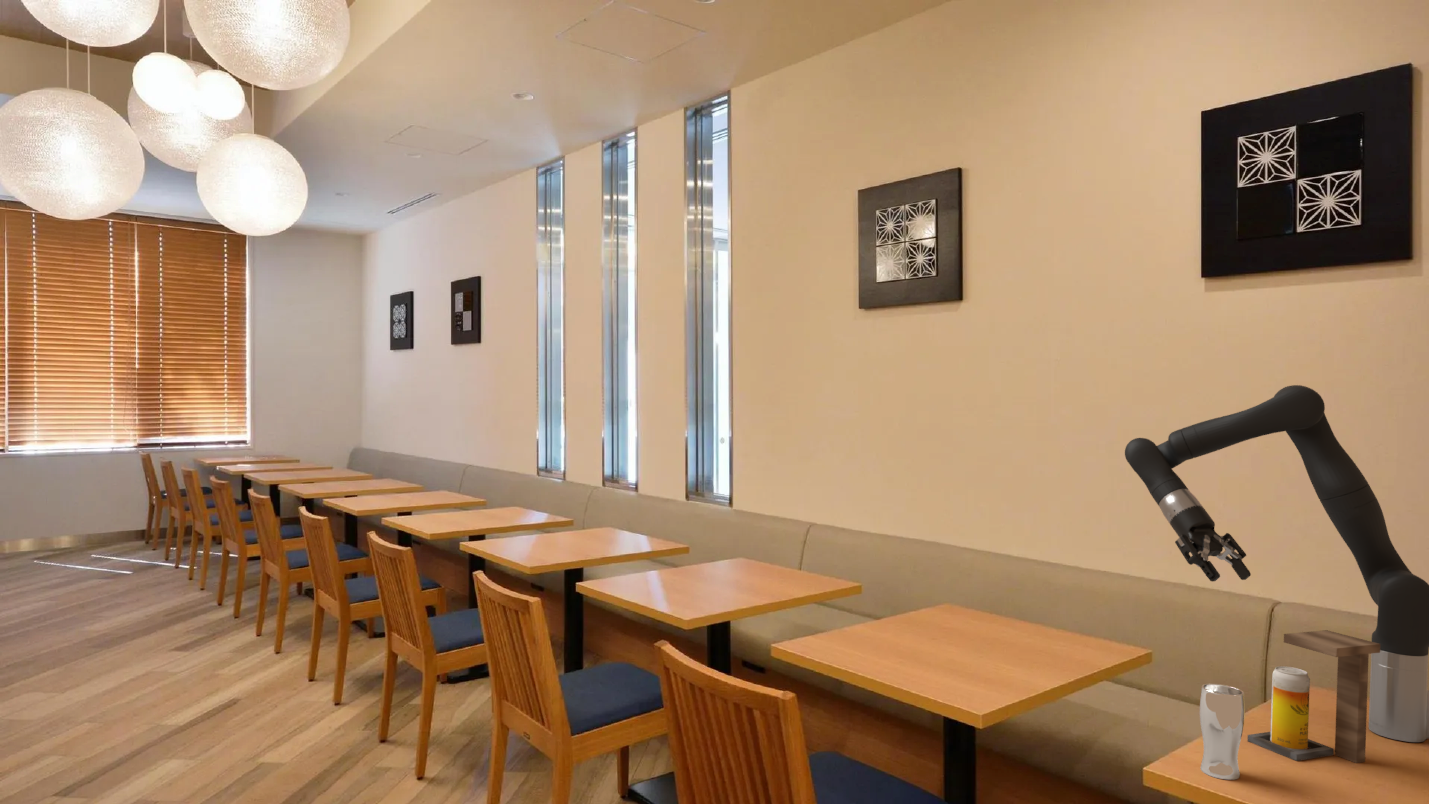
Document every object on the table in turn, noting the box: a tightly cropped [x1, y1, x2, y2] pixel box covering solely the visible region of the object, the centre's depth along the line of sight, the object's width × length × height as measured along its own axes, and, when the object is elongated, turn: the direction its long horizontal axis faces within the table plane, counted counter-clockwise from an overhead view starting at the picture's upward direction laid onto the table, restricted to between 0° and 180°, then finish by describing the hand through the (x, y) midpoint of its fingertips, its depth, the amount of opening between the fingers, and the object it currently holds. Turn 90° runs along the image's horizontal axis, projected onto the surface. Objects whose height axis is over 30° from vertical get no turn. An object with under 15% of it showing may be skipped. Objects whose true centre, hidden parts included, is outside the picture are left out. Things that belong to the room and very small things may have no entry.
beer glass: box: [1199, 683, 1246, 781], centre depth 158 cm, size 7×7×15 cm
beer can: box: [1270, 665, 1311, 751], centre depth 172 cm, size 6×6×15 cm
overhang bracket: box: [1247, 629, 1380, 764], centre depth 169 cm, size 13×16×23 cm
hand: (1231, 578), depth 181 cm, fingers open, 8 cm apart
